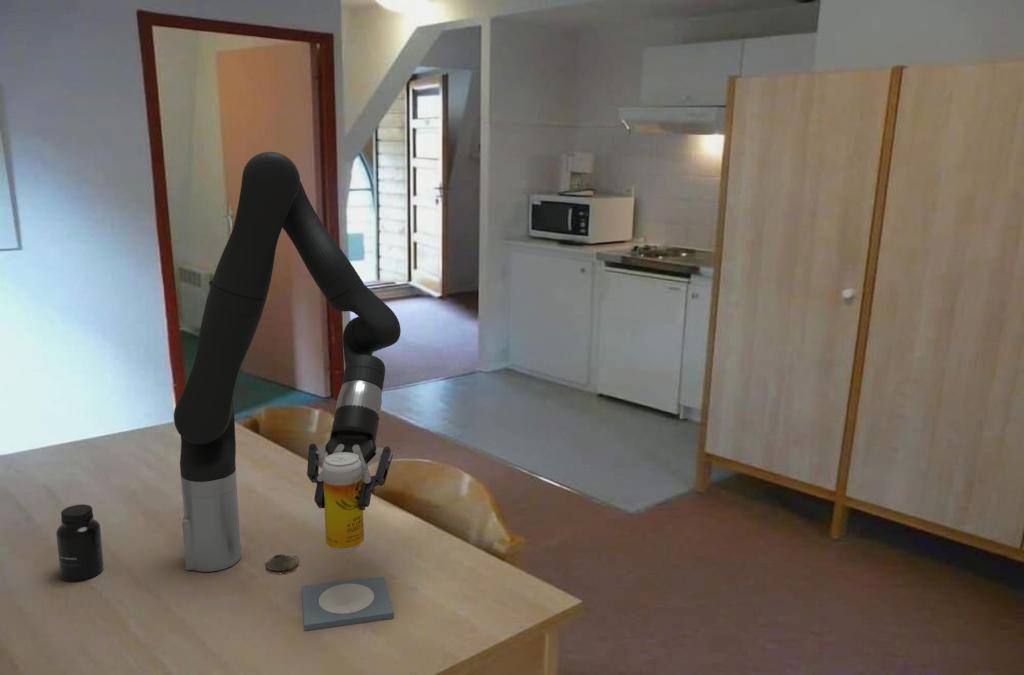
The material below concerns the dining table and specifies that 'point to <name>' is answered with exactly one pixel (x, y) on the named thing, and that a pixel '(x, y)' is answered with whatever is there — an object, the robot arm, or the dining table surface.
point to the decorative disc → (282, 564)
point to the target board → (346, 602)
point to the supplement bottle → (79, 544)
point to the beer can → (343, 501)
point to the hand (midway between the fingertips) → (341, 507)
